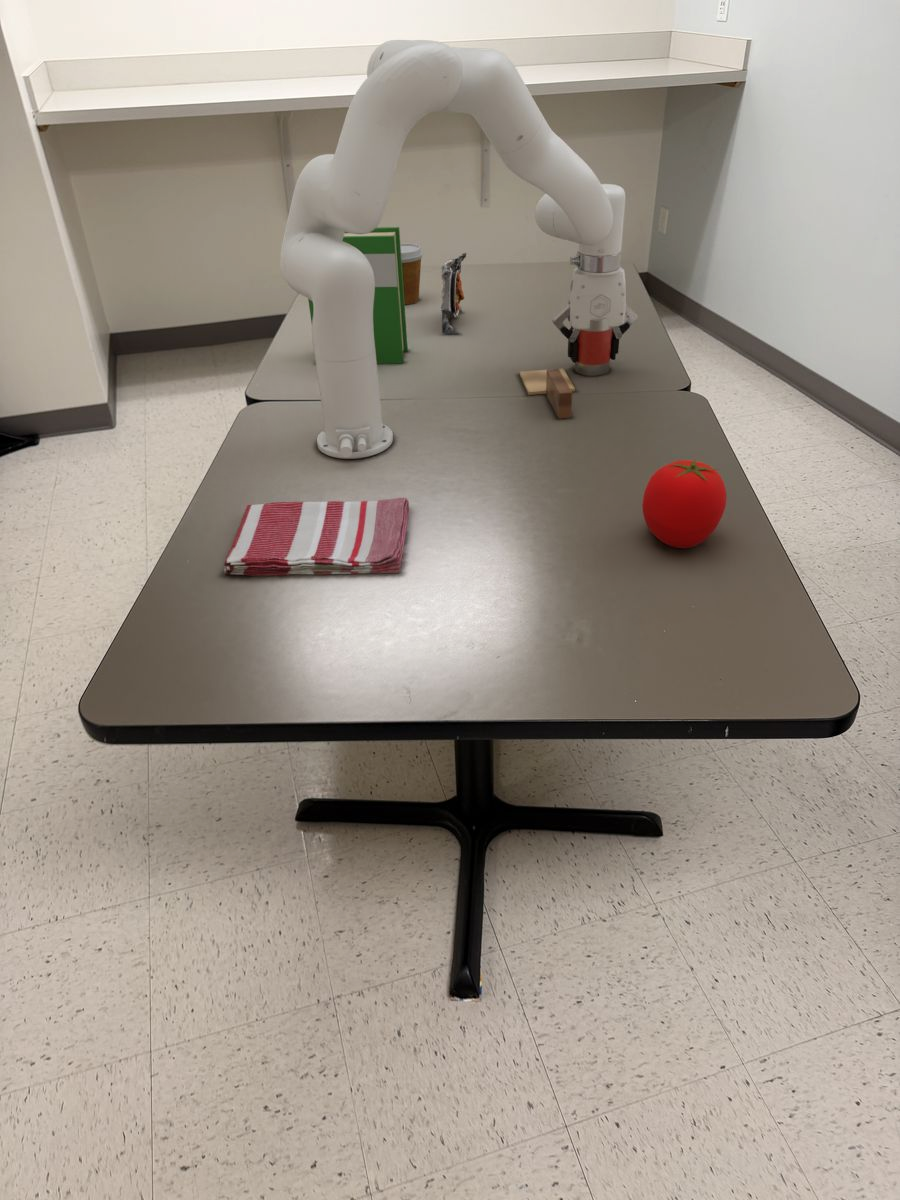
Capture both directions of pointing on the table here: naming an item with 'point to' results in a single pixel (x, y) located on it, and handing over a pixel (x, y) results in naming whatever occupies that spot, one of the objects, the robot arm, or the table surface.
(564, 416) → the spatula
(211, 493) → the table surface
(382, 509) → the dish towel
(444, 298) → the meal
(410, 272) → the disposable coffee cup
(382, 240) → the hardback book
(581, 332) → the tin can
